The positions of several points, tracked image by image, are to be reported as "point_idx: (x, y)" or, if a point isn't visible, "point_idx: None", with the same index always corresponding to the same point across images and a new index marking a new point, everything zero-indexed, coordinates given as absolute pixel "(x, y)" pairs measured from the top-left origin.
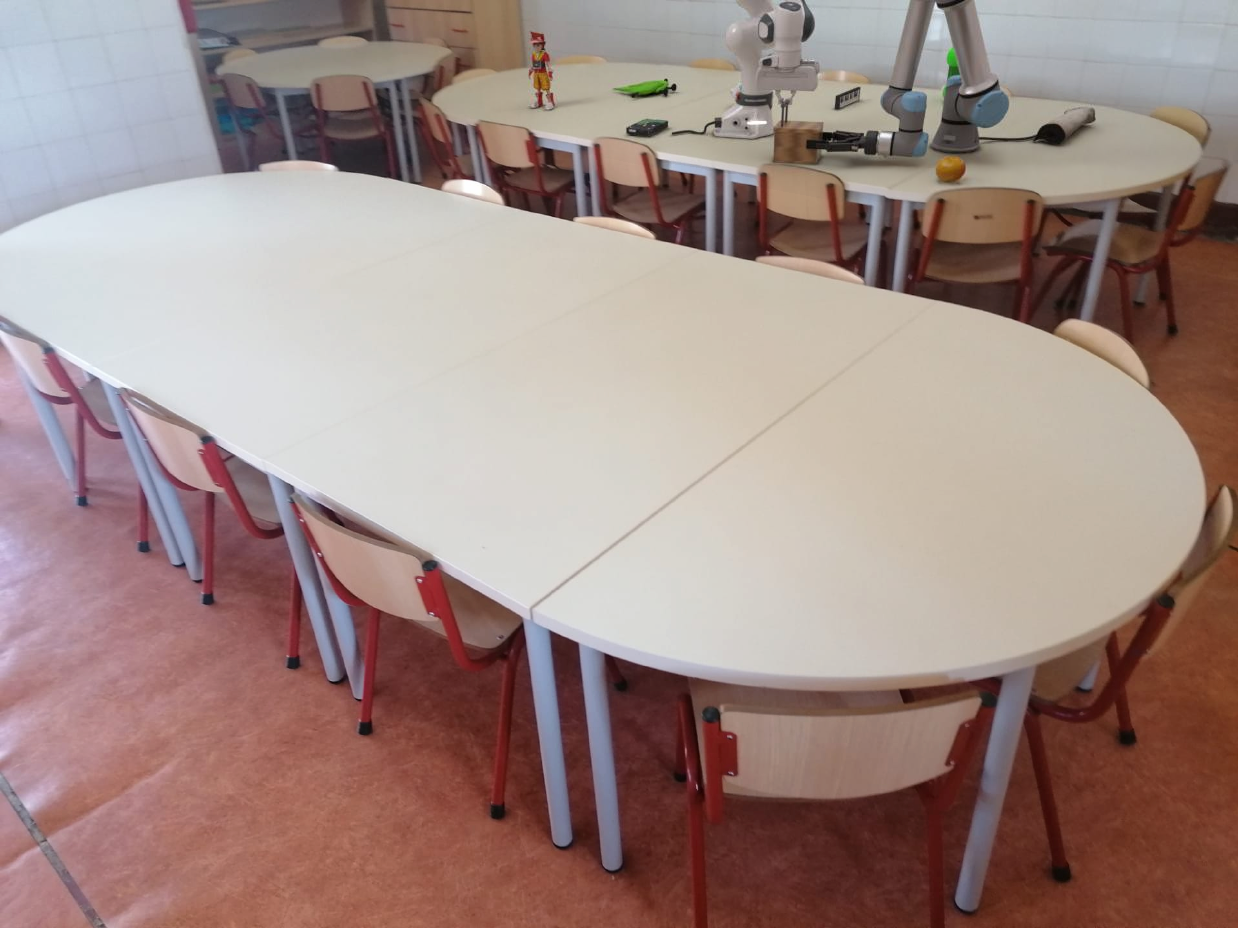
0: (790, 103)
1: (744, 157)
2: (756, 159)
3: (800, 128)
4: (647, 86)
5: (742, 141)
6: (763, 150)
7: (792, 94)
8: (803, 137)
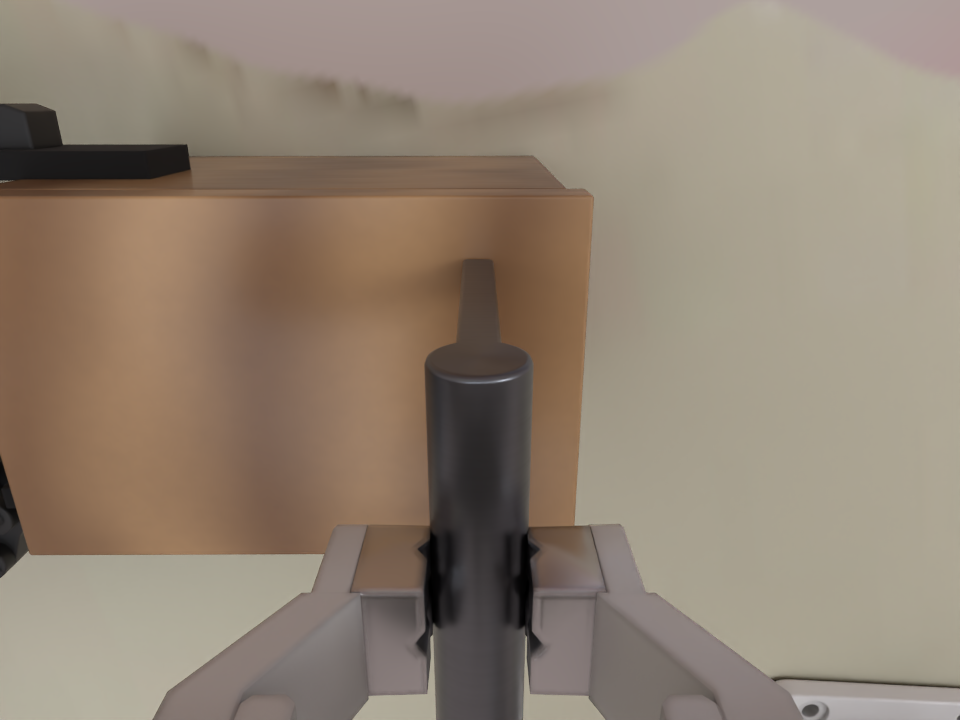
0: (346, 538)
1: (804, 253)
2: (693, 214)
3: (195, 224)
4: None
5: (848, 630)
6: (668, 459)
7: (245, 693)
8: (184, 184)
